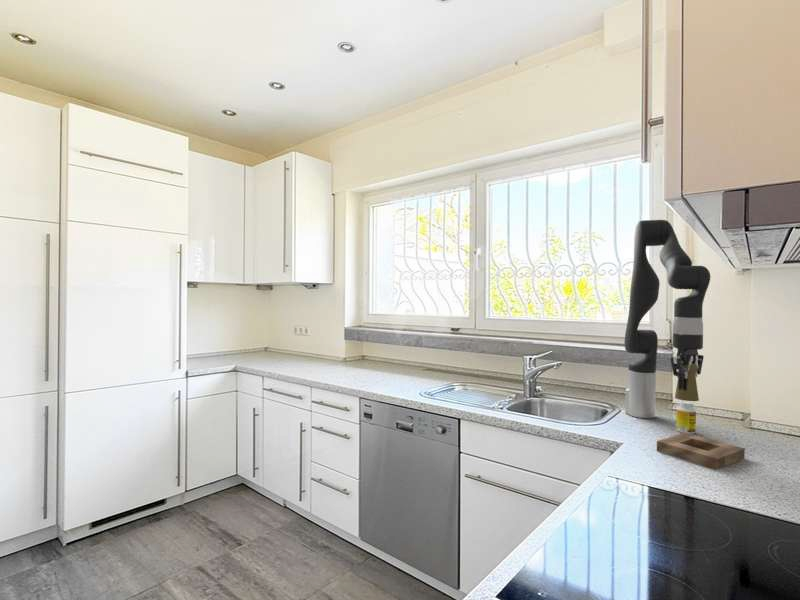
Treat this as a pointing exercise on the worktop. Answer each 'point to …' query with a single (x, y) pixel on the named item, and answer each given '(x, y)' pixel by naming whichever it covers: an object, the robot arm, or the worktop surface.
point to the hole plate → (701, 450)
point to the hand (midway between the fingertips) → (686, 389)
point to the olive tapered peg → (689, 386)
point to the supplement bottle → (686, 417)
